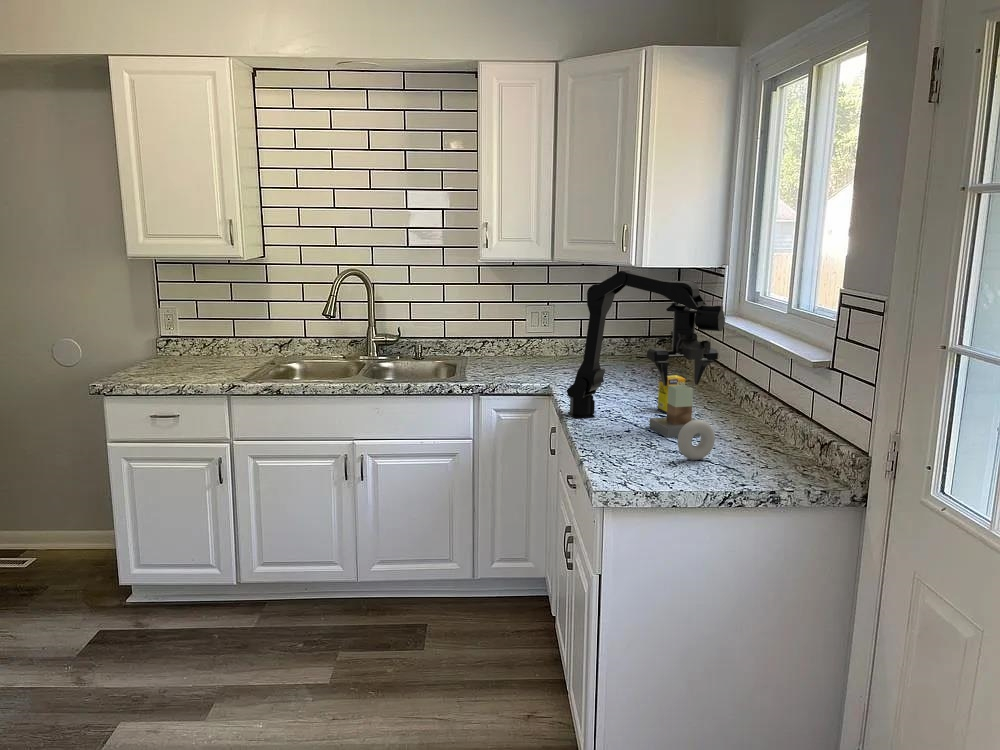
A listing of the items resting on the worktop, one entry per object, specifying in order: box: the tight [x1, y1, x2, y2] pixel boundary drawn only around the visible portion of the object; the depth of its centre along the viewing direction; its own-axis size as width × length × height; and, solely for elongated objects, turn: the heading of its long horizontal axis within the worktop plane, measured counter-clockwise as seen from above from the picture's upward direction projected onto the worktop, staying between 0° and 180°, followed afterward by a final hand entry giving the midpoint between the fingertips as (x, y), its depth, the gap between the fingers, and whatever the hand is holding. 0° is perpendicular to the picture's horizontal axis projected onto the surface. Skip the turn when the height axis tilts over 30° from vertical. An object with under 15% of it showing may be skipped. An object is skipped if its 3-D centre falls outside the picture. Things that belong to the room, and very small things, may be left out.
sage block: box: [667, 384, 694, 407], centre depth 210 cm, size 5×5×5 cm
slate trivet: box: [649, 416, 701, 439], centre depth 212 cm, size 12×12×2 cm
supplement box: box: [657, 374, 686, 415], centre depth 234 cm, size 6×6×11 cm
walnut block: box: [666, 403, 693, 425], centre depth 211 cm, size 5×5×5 cm
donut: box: [677, 419, 716, 461], centre depth 184 cm, size 10×4×10 cm, turn 110°
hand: (680, 385), depth 209 cm, fingers open, 9 cm apart
